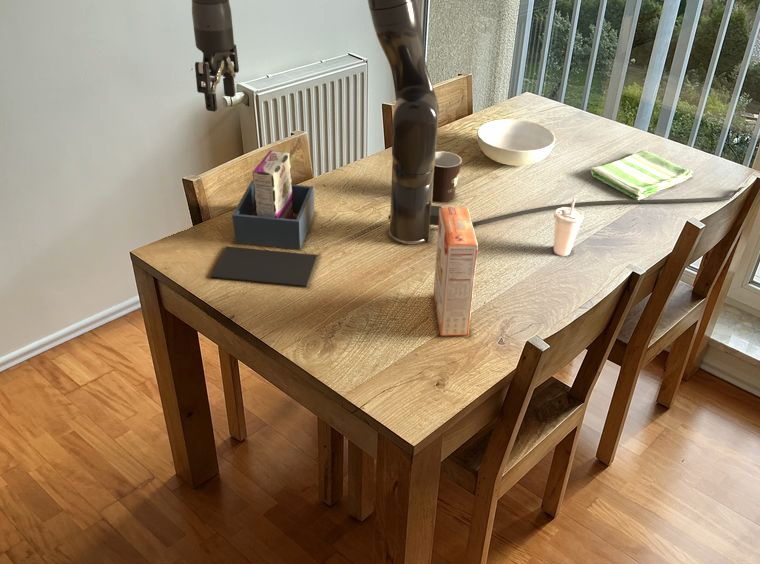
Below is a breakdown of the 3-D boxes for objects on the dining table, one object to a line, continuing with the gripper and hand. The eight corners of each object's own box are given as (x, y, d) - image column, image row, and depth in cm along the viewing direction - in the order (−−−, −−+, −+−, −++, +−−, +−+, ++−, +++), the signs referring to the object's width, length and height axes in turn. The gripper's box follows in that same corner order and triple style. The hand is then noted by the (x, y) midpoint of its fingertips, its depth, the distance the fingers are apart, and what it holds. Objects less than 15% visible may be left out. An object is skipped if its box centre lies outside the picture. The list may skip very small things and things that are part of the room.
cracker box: (431, 295, 166) (438, 205, 153) (460, 295, 167) (469, 205, 154) (438, 337, 155) (446, 243, 142) (468, 336, 156) (479, 244, 143)
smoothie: (558, 261, 179) (569, 205, 171) (542, 247, 184) (552, 192, 175) (581, 255, 182) (593, 200, 173) (565, 241, 186) (576, 187, 178)
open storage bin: (314, 213, 190) (313, 186, 186) (300, 249, 177) (299, 221, 173) (253, 207, 191) (251, 180, 186) (234, 243, 178) (232, 215, 173)
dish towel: (693, 179, 216) (696, 169, 214) (638, 202, 204) (641, 192, 202) (640, 154, 226) (642, 145, 224) (585, 175, 214) (587, 166, 212)
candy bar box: (273, 214, 189) (269, 149, 178) (294, 217, 188) (291, 152, 178) (256, 238, 180) (251, 170, 170) (278, 241, 179) (274, 174, 169)
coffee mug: (439, 208, 195) (442, 170, 189) (416, 194, 200) (418, 157, 194) (473, 195, 202) (478, 158, 195) (450, 182, 207) (454, 145, 200)
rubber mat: (317, 256, 175) (317, 255, 175) (306, 287, 166) (306, 285, 166) (226, 247, 176) (226, 246, 176) (210, 278, 167) (210, 276, 166)
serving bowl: (500, 135, 231) (502, 112, 227) (564, 156, 222) (568, 133, 218) (460, 158, 218) (462, 134, 213) (527, 182, 209) (530, 158, 204)
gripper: (214, 36, 152) (222, 118, 162) (245, 15, 163) (251, 93, 173) (177, 31, 154) (188, 113, 164) (211, 11, 164) (219, 88, 175)
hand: (221, 103), depth 168 cm, fingers open, 8 cm apart
